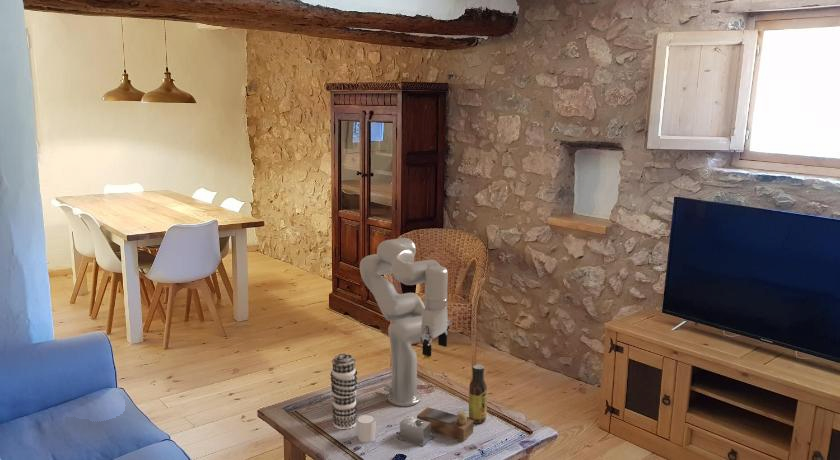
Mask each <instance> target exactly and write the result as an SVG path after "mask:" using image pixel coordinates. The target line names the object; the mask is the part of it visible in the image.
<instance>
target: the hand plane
mask: <svg viewBox="0 0 840 460" xmlns="http://www.w3.org/2000/svg"><path fill="white" fill-rule="evenodd" d="M456 414H457V415H456ZM456 414H454V413H450V412H446V411H443V410H439V409H437V408H431V407H429V406H428V407H427V406H426V408H424V409H423V410H422V411H421V412H419V413H418V414H417V415H416V418H417V419H420V420H424V421H427V422H430V423H431V433H433V434H437V435H440V436H444V437H447V438H450V439H454V440H457V441H460V442H465V441H466V440H467V439H468V438H469V437H470V436H471V435H472V434H473V433H474V423H473V420H471V419H469V418H467V417H468V414H467V413H466V412H464V411H463V412H462V411H461V412H458V413H456Z"/></svg>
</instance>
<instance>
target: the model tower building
mask: <svg viewBox="0 0 840 460" xmlns="http://www.w3.org/2000/svg"><path fill="white" fill-rule="evenodd" d="M355 362H356V358H355V357H353V356H352V355H351V354H349V353H339V354H337V355H335V357H334V358H333V359H332V360H331V363H332V369H331V370H332V371H330V375H329V376H330V382H331V384H330V385H331V394H332V396H333V400H332V401H333V402H332V406H331V407H332V422H334V423H332V425H333V424H335V426H338V427H340V428H344V429H347V428H351V429H353V428H352V427H354V426H355V425H356V418H357V417H358V408H357V407H358V404H357V399H356V394H357V391H358V387H357V386H356V385H358V382H357V380H358V377H357V375H358V371H357V370H356V367H355V366H356V364H355ZM355 427H356V426H355ZM355 427H354V428H355ZM347 430H348V429H347Z"/></svg>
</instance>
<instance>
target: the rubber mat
mask: <svg viewBox="0 0 840 460" xmlns="http://www.w3.org/2000/svg"><path fill="white" fill-rule="evenodd" d="M434 437H435V436H434V435H432V434H431V437H430V438H429V439H428V440H426V441H425V442H424V443H421V442H418V441H415V440H411V439H408V438H405V437H402V436H400V434H399V435H398V436H397V437H396V439H398V440H400V441H404V442H408V443H410V444H414V445H415V446H419V447H422V448H423V447H425V446H426V445H427V444H428V443H430V441H431V440H432V439H433V438H434Z"/></svg>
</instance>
